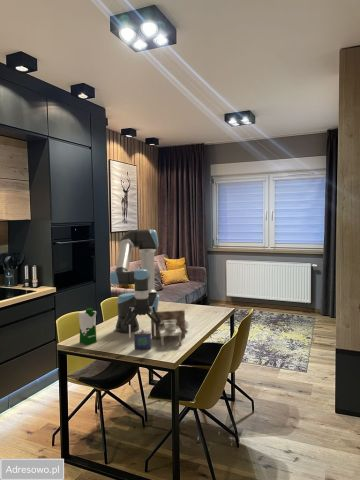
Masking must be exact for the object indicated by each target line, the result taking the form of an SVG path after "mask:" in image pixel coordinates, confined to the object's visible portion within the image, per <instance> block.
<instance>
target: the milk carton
mask: <svg viewBox="0 0 360 480" xmlns="http://www.w3.org/2000/svg"><path fill="white" fill-rule="evenodd" d="M93 308H94V307H92V308H91V307H87V308H85V310H81V311H78V312H77V315H78V319H79V343H80V344H83V345H86V346H87V345H91V344H94V343H97V341H98V340H97V321H96V320H97V319H96V317H97V311H96V310H94V309H93Z"/></svg>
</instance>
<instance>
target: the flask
mask: <svg viewBox="0 0 360 480" xmlns="http://www.w3.org/2000/svg"><path fill="white" fill-rule="evenodd" d="M133 333H134V334H133V339H134V341H133V342H134V346H133V347H134V351H146V350H151V349H152V336H151V332H150V331H149V332H145V330H144V329H141V331H140V332H139V331H136V332H133Z"/></svg>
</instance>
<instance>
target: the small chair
mask: <svg viewBox="0 0 360 480" xmlns="http://www.w3.org/2000/svg"><path fill="white" fill-rule="evenodd" d="M185 312H186V311H185V310H184V309H179V310H178V309H177V310H165V311H164V310H162V311H161V310H160V311H157V312H156V313H157V315H158V317H159V319H160V320H161V323H158V329H157V330H156V336H154V321H153V320H152V319H151V318H150V327H151V328H150V330H151V332H150V333H151V340H161V341H160V344H161V346H160V347H162V348H163V347H164V345H165V343H164V342H165V341H164V340H165V339H175V338H176V339H178V346H182V338H185V337H186V330H185V319H186V317H185V314H186V313H185ZM150 314H151V315H152V316H153V317H154V319H155V320H156V321H158V320H157V318H156V316H155V314H154V312H151V313H150Z"/></svg>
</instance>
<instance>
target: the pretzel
mask: <svg viewBox="0 0 360 480" xmlns="http://www.w3.org/2000/svg"><path fill="white" fill-rule="evenodd" d="M189 326H190V324H189V321H188V320H187V319H186V318H185V331H187V330H188V329H189Z"/></svg>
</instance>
